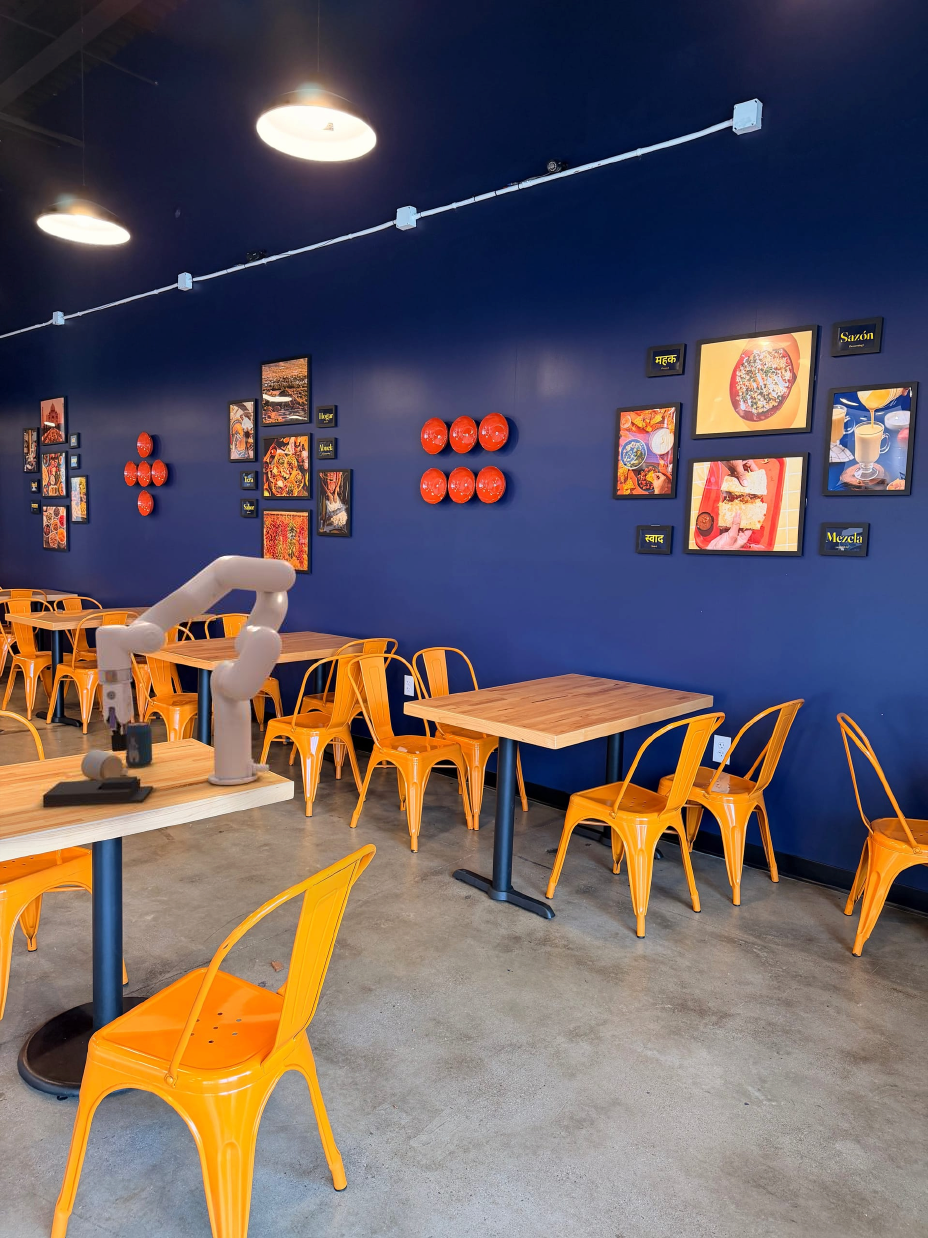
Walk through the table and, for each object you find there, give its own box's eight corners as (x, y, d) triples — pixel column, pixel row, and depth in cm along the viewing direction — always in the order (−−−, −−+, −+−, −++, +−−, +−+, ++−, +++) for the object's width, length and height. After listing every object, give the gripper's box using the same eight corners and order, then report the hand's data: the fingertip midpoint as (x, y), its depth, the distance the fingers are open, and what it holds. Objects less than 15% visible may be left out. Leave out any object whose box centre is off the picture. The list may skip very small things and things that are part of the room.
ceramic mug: (101, 785, 205) (101, 755, 204) (80, 781, 208) (80, 752, 208) (135, 776, 214) (135, 748, 214) (115, 773, 218) (115, 745, 217)
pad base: (153, 788, 202) (152, 778, 202) (142, 802, 190) (142, 791, 190) (60, 793, 198) (59, 781, 198) (43, 807, 186) (42, 795, 186)
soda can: (150, 761, 231) (149, 720, 230) (154, 766, 225) (153, 724, 224) (124, 764, 227) (123, 722, 226) (127, 769, 221) (126, 726, 220)
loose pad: (137, 790, 198) (137, 776, 197) (132, 795, 193) (132, 781, 193) (107, 791, 196) (107, 777, 196) (101, 797, 192) (101, 782, 191)
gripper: (124, 680, 186) (128, 757, 188) (138, 671, 201) (142, 742, 202) (89, 681, 185) (94, 759, 186) (107, 672, 200) (111, 744, 201)
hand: (119, 750), depth 194 cm, fingers closed
